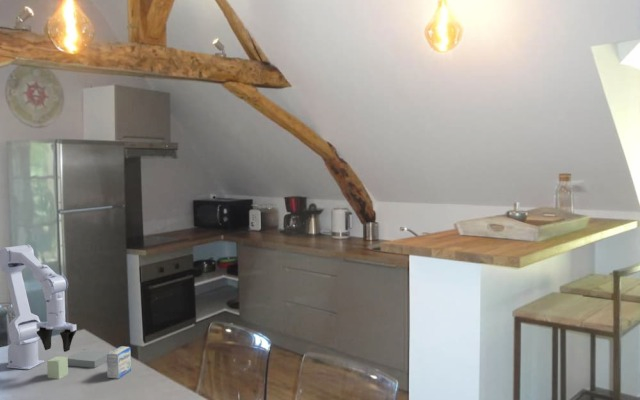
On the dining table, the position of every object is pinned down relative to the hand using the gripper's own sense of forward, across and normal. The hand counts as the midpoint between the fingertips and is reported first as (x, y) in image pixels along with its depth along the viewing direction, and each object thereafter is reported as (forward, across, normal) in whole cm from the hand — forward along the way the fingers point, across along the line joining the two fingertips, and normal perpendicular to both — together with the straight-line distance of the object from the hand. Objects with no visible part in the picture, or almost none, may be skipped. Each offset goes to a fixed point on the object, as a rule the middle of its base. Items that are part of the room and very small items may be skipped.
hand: (57, 350), depth 181 cm
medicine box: (+9, +20, +6) cm, 23 cm away
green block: (+9, 0, 0) cm, 9 cm away
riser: (+9, +2, +14) cm, 17 cm away
